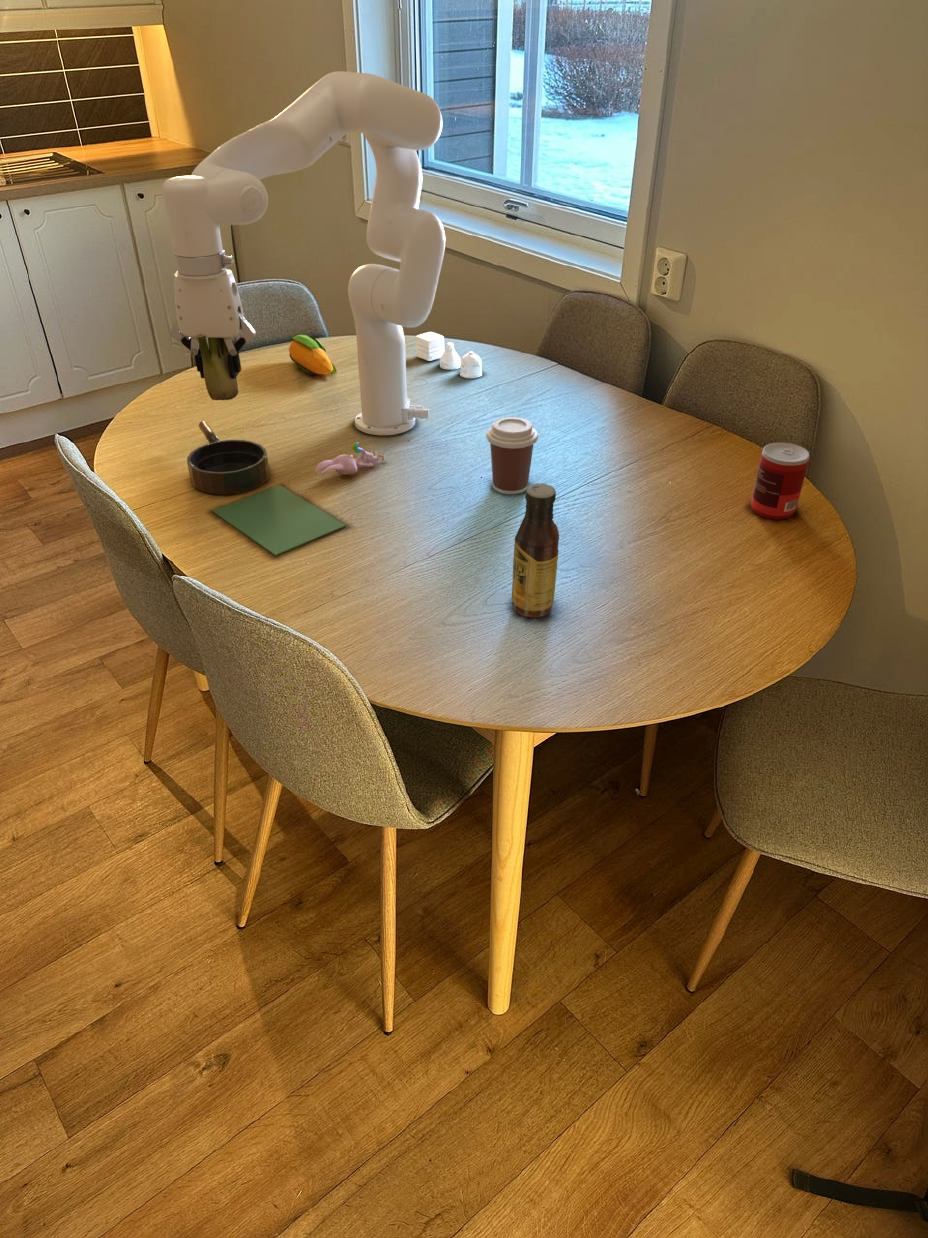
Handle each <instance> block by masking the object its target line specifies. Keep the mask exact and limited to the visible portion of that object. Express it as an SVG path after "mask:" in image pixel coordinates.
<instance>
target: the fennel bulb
mask: <svg viewBox="0 0 928 1238" xmlns="http://www.w3.org/2000/svg"><path fill="white" fill-rule="evenodd" d="M197 337H198V341H199V345H200V350H201V355H202V361H203V370H204V378H203V379H204V383H205V388H206V391H207V395H208V396H209V398H210V399H211V400H213V401H230V400H233V399H235V398H236V397H237V396H238V394H239V388H238V387H239V385H238V376H237V377H236V378H235V379H232V378H230V373H229V367H228V361H227V356H228V355H229V352H228V348H227V346H226V343H225V341H224V338H206V337H205V335H202V336H200V335H198V336H197Z"/></svg>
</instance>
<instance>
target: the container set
mask: <svg viewBox="0 0 928 1238" xmlns="http://www.w3.org/2000/svg"><path fill="white" fill-rule="evenodd" d="M445 346H446V349H445ZM415 356H416V357H417V358H420V359H422V360H425V361H427V362H429V361H430V362H431V361H434V360H438V359H439V367H440V368H441V369H443V370H449V371H450V370H451V371H452V370H457V369H460V371H459V376H460V377H461V378H465V379H478V378H480V377H482V376H483V371H482V366H483V364H482V359H481V357H480V355H478V354H477V353H474V351H468V353H466V354H464V355H463V356H462V358H460V356H459V354H458V353H457V351H456V350H455V345H454V343H453V342H447V343H446V345H445V337H444V336H443V335H442V334H439V333H436V332H433V331H427V332H424V333H420V334H417V335H416V336H415Z"/></svg>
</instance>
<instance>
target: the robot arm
mask: <svg viewBox="0 0 928 1238" xmlns="http://www.w3.org/2000/svg"><path fill="white" fill-rule="evenodd" d="M442 130H443V116H442V112H441V109H440V106H439V105H438V103H437V102H436V101H435V99H434V98H433V97H431V96H430V95H428V94H427V93H424V92H421V91H419V90H417V89H414V88H410V87H408V86H405V85H403V84H400V83H398V82H395V81H393V80H389V79H387V78H385V77H382V76H379V75H376V74H372V73H366V72H365V73H364V72H355V71H354V72H353V71H343V70H338V71H337V70H336V71H332V72H330V73H327V74H326V75H324V76H322V77H321V78H319V80H317V82H315V83H314V84H313V85H312V86H311V87H309V88H308V89H307V90H306V91H305V92H303V93H302V94H301V95H300V96H299V97H298V98H296V100H295V101H293V102H292V103H291V104H289V106H287V107H286V108H285V109H284V110H283V111H282V112H280V113H279V114H278V115H276V116H274V118H271V119H270V120H267V121H264V122H263V123H260V124H259V125H256V126H255V127H253V128H251V129H249V130H247V131H245V132H242V133H240V134H238V135H236V136H234V137H232V138H230V139H229V140H227V141H225V142H224V143H222V144H221V145H220V146H218V147H216V149H215V150H213V151H212V152H211V153H210V154H208V155H207V156H206V157H204V159H203V160H202V161H200V163H198V164H197V165H196V167H195V168H194V170H193V171H192V172H191V175H180V176H174V177H170V178H167V179H166V180H165V181H164V182H163V184H162V186H161V187H162V188H161V190H162V197H163V198H162V199H163V202H164V209H165V213H166V217H167V224H168V230H169V234H170V240H171V245H172V250H173V255H174V256H173V257H174V260H175V266H176V271H175V273H174V275H173V276H174V277H173V289H174V290H173V291H174V306H175V314H176V319H175V321H174V323H173V325H172V327H171V329H170V331H169V336H170V337H172V338H173V339H175V340H177V341H178V342H180V343H181V344H182V345H183V346H184V347H185V348H187V350H189V351H190V353H191V355H193V357H194V362H195V366H196V370H197V372H199V375H200V378H201V379H204V370H203V361H202V355H201V350H200V345H199V341H198V337H197V336H198V335H200V336H202V335H205V337H206V339H208V338H224V341H225V343H226V346H227V348H228V352H229V355H228V356H227V361H228V367H229V373H230V378H232V379H235V378H236V377H237V378H238V375H239V374H240V373H241V371H242V365H241V359H240V350H241V349H242V348H243V347H244V346H245V345H246V344H247V343H249V341H251V340H252V339H253V338H255V336H256V335H257V330H256V329H254V328H253V326H252V325H251V324H250V323H249V321H248V320H247V319H246V318H245V313H244V308H243V304H242V300H241V296H240V292H239V289H238V285H237V281H236V279H235V276H234V273H233V271H232V270H231V269H227V268H228V267H230V266H234V264H235V259H234V257H233V256H232V255H231V256H229V255H227V254H226V252H225V250H224V247H223V242H222V240H223V239H222V234H221V229H220V227H222V226H245V225H246V226H247V225H250V224H253V223H256V222H257V221H259V220H260V219H261V218H263V216H264V215H265V214H266V211H267V209H268V207H269V194H268V190H267V189H266V187H265V185H264V184H263V182H262V181H261V180H263V179H265V178H268V177H272V176H277V175H284V174H291V173H294V172H298V171H300V170H301V171H302V170H305V169H307V168H309V167H311V166H312V165H313V164H315V163H316V162H317V161H318V160H319V159H320V158H321V157H322V156H323V155H324V154H325V153H326V152H327V151H329V150H330V149H331V148H332V147H333V146H335V145H336V144H337V143H338V142H339V141H340V140H342V138H344V137H345V136H346V135H347V134H350V133H357V134H358V133H359V134H363V136H364V138H365V139H366V141H367V143H368V145H369V147H370V150H371V151H372V154H373V158H374V162H375V166H376V167H375V172H376V173H375V180H374V181H375V182H374V188H373V192H372V198H371V204H370V209H369V214H368V220H367V224H366V225H367V226H366V233H365V234H366V235H365V237H366V244H367V246H368V248H369V250H370V251H371V252H372V253H373V254H375V255H377V256H379V257H381V258H385V259H388V260H391V261H395V262H398V263H399V269H398V268H395V267H390V266H387V265H383V264H378V263H368V264H363V265H361V266H359V267H357V269H355V270H354V271H353V273H352V274H351V275H350V278H349V281H348V286H347V297H348V301H349V306H350V310H351V314H352V317H353V322H354V327H355V337H356V349H357V351H356V353H357V364H358V365H357V366H358V379H359V392H360V394H359V395H360V409H361V412H359V413H358V414H357V415H356V416H355V417H354V426H355V428H356V429H357V430H359V431H360V432H362V433H365V434H368V435H374V436H394V435H399V434H402V433H406V432H408V431H410V430H411V429H412V428H413V427H415V426H416V419H423V420H424V419H425V420H427V419H428V420H429V417H430V409H429V408H425V406H424V405H413V404H411V398H410V397H408V389H407V365H406V364H407V363H406V361H407V360H406V338H405V333H404V328H409V329H412V328H413V329H414V328H417V327H419V326H421V325H422V324H424V322H425V321H426V320H427V319H428V317H429V315H430V313H431V311H432V308H433V306H434V302H435V297H436V294H437V293H436V292H437V288H438V284H439V279H440V276H441V275H440V274H441V270H442V267H443V261H444V256H445V250H446V233H445V230H444V225H443V223H442V222H441V220H440V218H439V217H438V216H437V215H436V214H434V213H433V212H431V211H428V210H426V209H421V208H419V205H420V199H421V192H422V187H423V170H422V169H423V168H422V164H421V161H420V158H419V155H418V153H417V151H425V150H428V149H430V148H431V147H433V146H434V145H435V144H436V142H438V140H439V138H440V137H441V133H442ZM403 327H404V328H403ZM240 331H242V332H243V334H242V335H240ZM239 335H240V337H239V338H238V337H237V336H239Z"/></svg>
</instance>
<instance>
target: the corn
mask: <svg viewBox="0 0 928 1238" xmlns="http://www.w3.org/2000/svg"><path fill="white" fill-rule="evenodd" d="M290 340H291V342H290V344H289V346H288V352H289V358H290V360H291V361H293V363H294V364H296V365H297V366H298V368H300V369H302V370H303V371H304V372H306V373H308V374H310V375H314V373H315V374H318V375H336V374H337V373H338V371H337V367H336V366H335V365H334V363H333V362H332V361H331V360H330V358H329V356H328V355H327V353H326V352H327V350H326V348H325V347H324V345H323V343H321V342H320V341H319V340H318V339H317V338H316V337H314V336H312V335H306V334H296V335H294V336H292V337H291V339H290Z"/></svg>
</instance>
